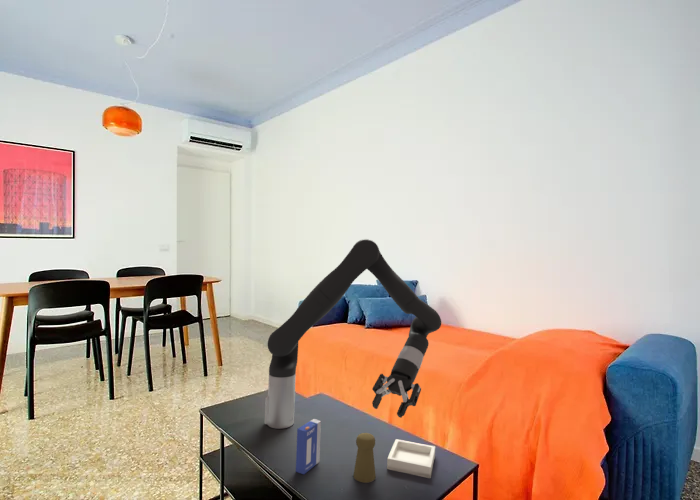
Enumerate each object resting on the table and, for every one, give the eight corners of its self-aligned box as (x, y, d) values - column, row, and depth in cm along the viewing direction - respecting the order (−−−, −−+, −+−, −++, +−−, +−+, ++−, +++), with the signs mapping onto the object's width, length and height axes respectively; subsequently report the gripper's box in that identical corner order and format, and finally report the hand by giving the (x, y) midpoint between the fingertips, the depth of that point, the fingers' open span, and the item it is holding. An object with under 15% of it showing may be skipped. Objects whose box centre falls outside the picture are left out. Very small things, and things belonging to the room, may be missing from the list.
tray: (387, 469, 106) (387, 458, 106) (395, 448, 118) (395, 438, 118) (430, 478, 103) (430, 467, 103) (435, 456, 114) (435, 446, 114)
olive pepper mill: (352, 469, 106) (353, 429, 106) (373, 469, 106) (375, 429, 106) (354, 482, 100) (355, 440, 100) (377, 482, 100) (378, 440, 100)
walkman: (303, 474, 102) (305, 430, 102) (295, 471, 104) (297, 427, 104) (320, 461, 109) (321, 419, 109) (312, 458, 110) (313, 417, 111)
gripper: (384, 353, 122) (361, 398, 113) (424, 362, 113) (403, 412, 104) (393, 366, 126) (371, 411, 117) (432, 376, 117) (412, 425, 108)
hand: (386, 411), depth 111 cm, fingers open, 8 cm apart
